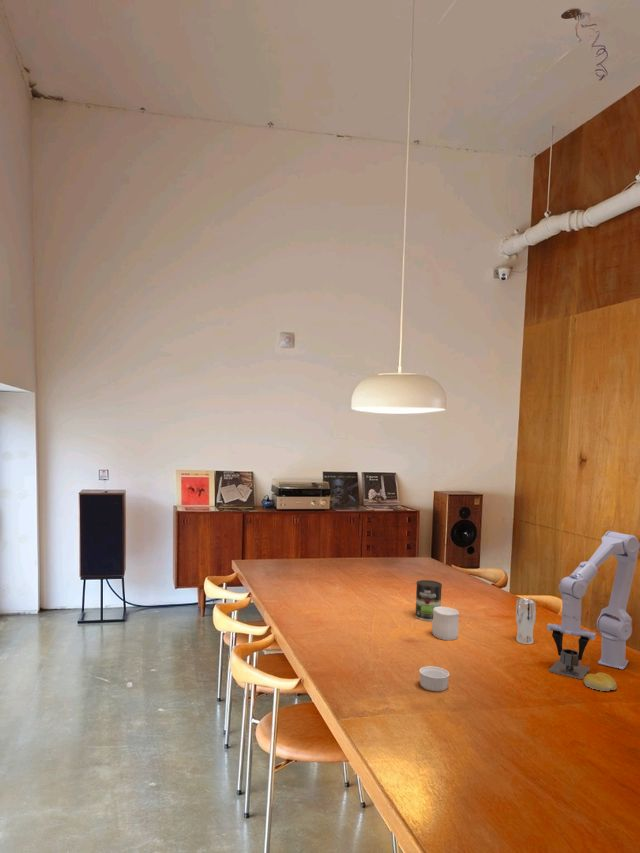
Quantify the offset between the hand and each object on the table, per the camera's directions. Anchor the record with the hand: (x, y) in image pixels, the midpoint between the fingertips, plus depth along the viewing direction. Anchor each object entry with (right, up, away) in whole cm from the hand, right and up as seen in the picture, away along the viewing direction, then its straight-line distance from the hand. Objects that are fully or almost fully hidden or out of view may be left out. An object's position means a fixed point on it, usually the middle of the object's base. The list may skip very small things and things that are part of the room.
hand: (570, 657), depth 195 cm
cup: (-35, -4, +29) cm, 45 cm away
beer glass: (-6, -5, +27) cm, 28 cm away
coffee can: (-37, -4, +52) cm, 64 cm away
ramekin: (-47, -3, -16) cm, 50 cm away
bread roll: (+4, -5, -11) cm, 13 cm away
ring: (0, -2, 0) cm, 2 cm away
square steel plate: (0, -4, 0) cm, 4 cm away
